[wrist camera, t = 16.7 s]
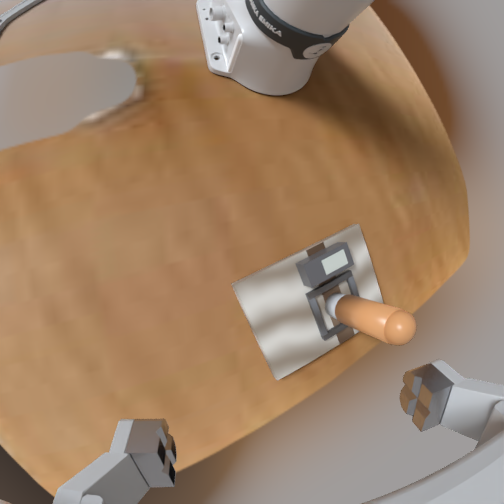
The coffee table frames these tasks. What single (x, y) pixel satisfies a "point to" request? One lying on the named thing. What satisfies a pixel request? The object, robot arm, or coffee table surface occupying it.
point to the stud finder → (324, 264)
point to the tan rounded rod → (372, 318)
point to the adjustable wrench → (16, 11)
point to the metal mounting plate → (303, 304)
